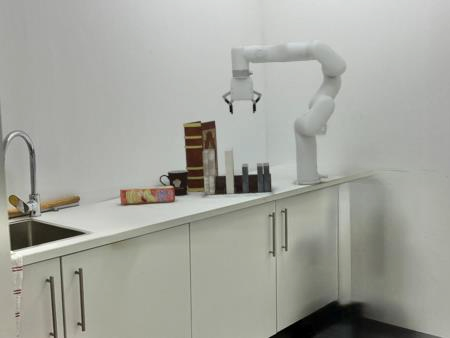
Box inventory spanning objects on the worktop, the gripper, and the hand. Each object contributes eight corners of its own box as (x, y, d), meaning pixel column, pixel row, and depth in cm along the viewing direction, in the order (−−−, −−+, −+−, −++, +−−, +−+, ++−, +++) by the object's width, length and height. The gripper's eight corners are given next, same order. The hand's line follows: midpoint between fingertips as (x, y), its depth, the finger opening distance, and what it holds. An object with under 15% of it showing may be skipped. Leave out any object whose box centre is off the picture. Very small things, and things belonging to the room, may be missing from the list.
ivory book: (234, 189, 269) (232, 148, 267) (234, 193, 258) (231, 150, 256) (227, 189, 269) (225, 148, 266) (226, 193, 258) (224, 150, 256)
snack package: (175, 199, 254) (174, 183, 253) (174, 202, 248) (173, 185, 247) (122, 203, 251) (120, 186, 250) (119, 205, 245) (118, 189, 244)
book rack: (271, 189, 272) (269, 146, 270) (272, 194, 258) (270, 149, 256) (207, 192, 270) (204, 148, 268) (204, 197, 256) (202, 152, 254)
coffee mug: (193, 193, 269) (192, 170, 268) (181, 196, 261) (180, 173, 260) (171, 192, 274) (170, 169, 272) (159, 195, 266) (157, 172, 265)
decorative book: (202, 191, 272) (198, 123, 268) (185, 191, 274) (181, 123, 270) (219, 183, 294) (215, 120, 290) (203, 183, 296) (199, 120, 292)
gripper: (260, 74, 277) (262, 112, 279) (221, 75, 276) (223, 114, 278) (260, 73, 270) (262, 113, 272) (220, 75, 268) (223, 114, 271)
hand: (243, 113), depth 275 cm, fingers open, 9 cm apart
